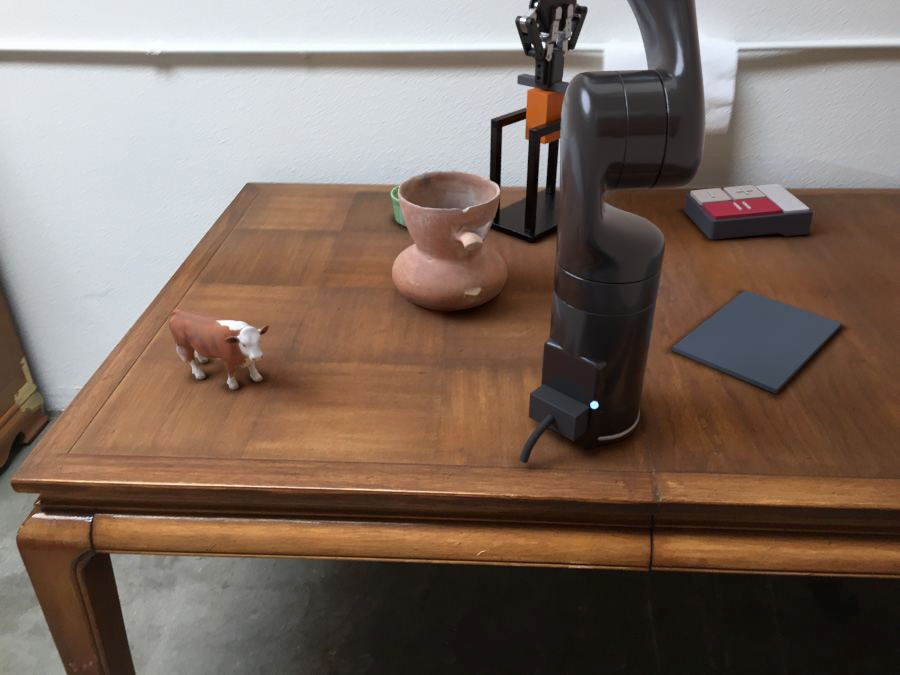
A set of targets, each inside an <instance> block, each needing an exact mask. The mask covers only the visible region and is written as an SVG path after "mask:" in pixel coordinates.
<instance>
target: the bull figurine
mask: <svg viewBox="0 0 900 675" xmlns="http://www.w3.org/2000/svg"><path fill="white" fill-rule="evenodd" d="M168 327H169V331H170V333H171V335H172V338H173V340H174V344H175V349H176V353H177V355H178V356H179V357H180V359H181V360H182V361H183V363H189V365H190V367H191V373H192V375H194V376H195V378H196V380H204V379H206V377H207V375H206V373H205V372H204V371H203V370H202V369H201V367H200V366H199V365H198V363H197V362H196V359H195V358H197V359H198V361H199V363H200V364H206V363H207V362H208V361H209V360H214V361H216V360H218V361H222V362H223V364H224V366H225V369H226V372H227V376H228V378H227V381H226V384H227V385H228V387H229V389H230V390H234V391H235V390H237V389H239V386H240V385H239V383H238V381H237V380H236V377H235V374H236V367H237V366H238V367H240V368H246V367H247V368H248V370H249V377H250V378H252V381H253V382H254V383H258V382H261V381H263V376H262V374H260V373H259V372H258V370H257V369H256V366H255V362H258V361H261V360H263V359H264V356H265V355H264V353H263V351H262V346H261V336H263V335H265V334H266V333H267V332H268V331H269V328H270V325H268V324H265V325H263V326H261V327H260V328H258V329H257V328H256V327H254V326H252V325H249V324H248V323H247V322H245V321H242V320H235V319H234V320H233V319H224V318H219V317H216V316H211V315H209V314H206V313H203V312H198V311H193V310H189V309H179V308H177V309H174V310H173V311H171V312H170V317H169V320H168Z"/></svg>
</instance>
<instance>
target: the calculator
mask: <svg viewBox="0 0 900 675" xmlns="http://www.w3.org/2000/svg"><path fill="white" fill-rule="evenodd" d="M683 209H684V210H683V211H684V213H685V214H686V215H687V216H688V218H690V220H692V222H694V224H695V225H696V226H697V227H698V228H699V229H700V230H701V231H702V233H703V234H704V235H705V236H706V237H707V238H708V239H709V240H712V241H713V240H724V239H734V238H735V239H736V238H744V237H754V236H755V237H756V236H764V235H775V234H779V235H781V236H783V237H793V236H802V235H803V236H804V235H808V234H810V229H811V224H812V221H813V220H812V219H813V214H814V211H813V210H812V209H811V208H810V207H808V206H807V205H806V204H805V203H804V202H802V201H801V200H800V199H798V197H796V196H795V195H794V194H793V193H791V192H790V191H789V190H788V189H786V188H785V187H783V186H782V185H781V184H780V183H770V184H759V185H756V186H755V185H754V184H748V185H747V184H746V185H736V186H725V187H723V189H722V188H720V187H715V188H707V189H706V188H704V189H694V190H690V192H687V193H685V200H684V208H683Z"/></svg>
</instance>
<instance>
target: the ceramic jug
mask: <svg viewBox="0 0 900 675" xmlns="http://www.w3.org/2000/svg"><path fill="white" fill-rule="evenodd" d="M399 185H400V186H399ZM399 185H398V186H399V189H398V198H399V204H400V208H401V212H402V215H403V218H404V221H405V224H406V226H407V227H406V228H407V231H408V233H409V235H410V237H411V239H412V240H413V242H414V243H412V244H411V245H409V246H408V247H406V248H405V249H404V250H402V251H401V252H400V253H399V254H398V256H397V257H396V259H395V260H394V262H393V265H392V268H391V278H392V282H393V284H394V287H395V288H396V290H397V291H398V293H399V294H400V295H401V296H402V297H404V298H405V300H408V301H409V302H410V303H413V304H415V305H417V306H419V307H423V308H425V309H430V310H436V311H461V310H468V309H471V308H476V307H478V306H481V305H483V304H485V303H487V302H489V301H491V300H492V299H493V298H495V297H496V296H497V295H498V294H499V293H500V292H501V291H502V289H503V288H504V286H505V284H506V281H507V278H508V267H507V263H506V261H505V259H504V257H503V256H502V255H501V254H500V253H499V252H498V251H497V250H495V249H494V248H493V247H491V246H490V245H488V244H486V243H484V242H486V238H487V236H488V235H489V232H490V230H491V228H490V227H491V225H492V222H493V220H494V217H495V215H496V212H497V208H498V204H499V200H500V201H501V190H500V188H499V186H498V185H497V184H496V183H494V182H492V181H491V180H490V178H485V177H484V176H481V175H479V174H478V175H477V174H475V173H470V172H465V171H459V170H444V171H443V170H432V171H426V172H422V173H420V174H417V175H413V176H410V177H408V178H407V179H405V180H404V181H402V182H401V183H400V184H399Z"/></svg>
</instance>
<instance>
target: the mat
mask: <svg viewBox="0 0 900 675" xmlns="http://www.w3.org/2000/svg"><path fill="white" fill-rule="evenodd" d="M842 324H843V323H842V322H840V321H837V320H834V319H831V318H828V317H825V316H822V315H819V314H816V313H815V312H811V311H807V310H804V309H802V308H799V307H796V306H793V305H790V304H787V303H784V302H781V301H779V300H775V299H772V298H770V297H767V296H764V295H762V294H761V295H760V294H759V293H755V292H752V291H750V290H746V289H745V290H743V291H742V292H740V293H739V294H738V295H737V296H735V297H734V298H732V299H731V300H730V301H729V302H728V303H727V304H725V305H724V306H722V308H720V309H719V310H718V311H716V312H715V313H714V314H713V315H711V316H710V317H709V318H707V319H706V320H705V321H704V322H702V323H701V324H700V325H699V326H697V327H696V328H694V329H693V330H692V331H691V332H689V334H687V335H686V336H684V337H683V338H682V339H681V340H679V341H678V342H677V343H676V344H674V345H673V346H672V350H671V351H672V352H674V353H677V354H679V355H681V356H684V357H686V358H689V359H691V360H693V361H696V362H698V363H700V364H703V365H706V366H707V367H710V368H713V369H715V370H717V371H719V372H721V373H724V374H727V375H729V376H732V377H734V378H737V379H739V380H741V381H744V382H747V383H749V384H751V385H754V386H755V387H759V388H761V389H763V390H766V391H768V392H770V393H772V394H776V395H777V393H778V392H779V391H780V390H782V388H784V386H785V385H786V384H787V383H788V382H789V381H790V380H791V379H792V378H793V377H794V376H795V375H796V374H797V373H798V372H799V371H800V370H801V369H802V368H803V367H804V366H805V365H806V363H807V362H808V361H809V360H811V359H812V358H813V356H815V354H817V352H818V351H819V350H820V349H821V348H822V347H823V346H824V345H825V344H826V343H827V342H828V341H829V340H830V339H831V338H832V337H833V336H834V335H835V334H836V333H837V332H838V331H839V330H840V329H841V328H842Z"/></svg>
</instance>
